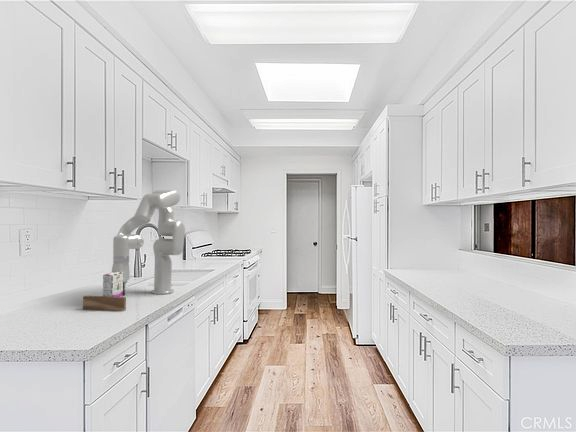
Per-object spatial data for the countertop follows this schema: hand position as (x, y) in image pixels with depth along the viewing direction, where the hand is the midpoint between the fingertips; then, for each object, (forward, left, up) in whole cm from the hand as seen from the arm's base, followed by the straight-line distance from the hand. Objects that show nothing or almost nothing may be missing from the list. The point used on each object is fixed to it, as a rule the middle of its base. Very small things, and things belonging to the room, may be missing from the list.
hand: (120, 296), depth 206 cm
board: (+15, 0, -4) cm, 16 cm away
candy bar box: (+9, +1, -4) cm, 10 cm away
